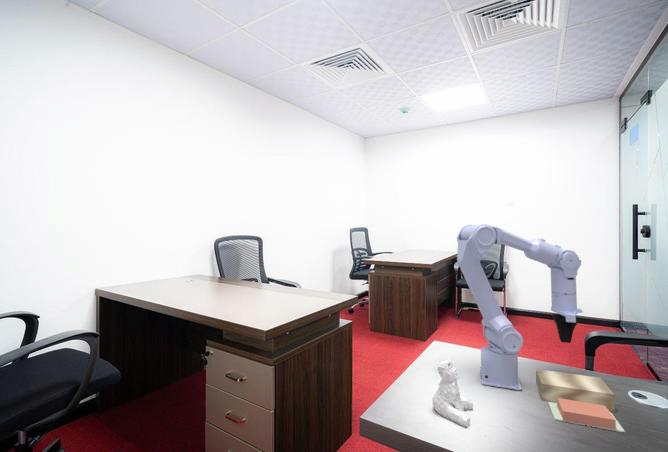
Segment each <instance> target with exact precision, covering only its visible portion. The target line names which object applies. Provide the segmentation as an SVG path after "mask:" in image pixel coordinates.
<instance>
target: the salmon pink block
mask: <svg viewBox="0 0 668 452" xmlns="http://www.w3.org/2000/svg"><path fill="white" fill-rule="evenodd" d="M557 407H558V409H559V412H560V414H561V416H562V418H563V420H564V421H570V422H575V423H581V424H586V425H592V426H597V427H603V428H608V429H614V430H616V420H617V419H616V420H615V419H614V417H615V416H614V415H613V416H614V417H613V416H612V414H613V413H612V412H611V411H609V410H608V409H607V408H606V406H605V405H599V404H593V403H586V402H580V401H574V400H568V399H561V398H557ZM610 412H611V413H612V414H611V413H610Z"/></svg>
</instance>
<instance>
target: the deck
mask: <svg viewBox="0 0 668 452" xmlns="http://www.w3.org/2000/svg"><path fill="white" fill-rule="evenodd" d="M535 385H536V388H537V390H538V392H539V396H540V398H541V400H542V401H545V402H552V403H557V398H561V399H568V400H574V401H580V402H586V403H593V404H599V405H605V406H606V408H607V409H608V410H609V412H611V413H615V412H616V408H615V407H616V405H615V393H614V392H613V391H612V390H611V389H610V387H609V386H608V385H607V384H606V383H605V382H604V380H603V379H602V378H601V377H599V376H598V377H597V376H589V375H584V374H575V373H570V372H569V373H568V372H560V371H554V370H553V371H552V370H545V369H538V368H536V369H535Z"/></svg>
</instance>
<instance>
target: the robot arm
mask: <svg viewBox="0 0 668 452" xmlns="http://www.w3.org/2000/svg"><path fill="white" fill-rule="evenodd" d="M455 239H456V241H457V251H456V252H457V254H456V255H457V256H456V261H457V264H458V266H459V268H460V271H461V272H462V273H461V274H462V275H463V277H464V279H465V281H466V284H467V286H468V288H469V290H470V293H471V295H472V296H473V299H474V302H475V303H476V306H477V307H478V309H479V312H480V314H481V316H482V320H481V324H482V330H483V331H482V332H483V337H484V338H485V340H486V341H487V346H481V347H480V366H479V375H481V377H480V379H481V384H482V385H484V386H491V387H496V388H497V387H498V388H504V389H508V390H509V389H510V390H516V391H522V390H523V388H522V384H521V380H520V378H519V365H518V364H519V361H518V360H519V359H518V357H519V356H518V355H519V352H520V351H521V349H522V347H523V345H524V338H523V336H522V334H521V333H520V332H519V331H517V330H516V328H515V326H514V325H513V323H512V322H511V321H510V320H509V319H508V317H506V316H505V315H504V312H503V309H502V308H501V306H500V303H499V302H498V299H497V297H496V295H495V292H494V290H493V289H492V286H491V284H490V282H489V280H488V278H487V275H486V273H485V271H484V269H483V267H482V264H481V261H482V259H483V256H484V255H485V254H486V253H487V252H488V251H489V250H490V249H491V248H492V246H494V245H500V244H501V245H504V246H507V247H510V248H513V249H515V250H519V251H521V252H524V256H525V257H526V258H527V259H530V260H533V261H534V262H535V261H536V262H538V263H540V264H543V265H545V266H546V267H548V268H549V269H550V290H551V291H550V292H551V295H550V296H551V306H550V311H551V312H553V313H551V317H552V318H553V321H554V323H555V326H556V329H557V334H558V337H559V340H560V342H561V343H566V344H567V343H568V344H570V343H571V342H572V339H573V334H574V330H575V327H576V326H577V324H578V323H579V318H577V315H578V314H579V313H580V314H581V313H583V309H582V308H578V303H577V301H578V300H577V276H578V270H579V269H580V267H581V265H582V260H581V259H580V256H579V255H578V254H577V253H576V252H575V251H573V250H571V249H563V248H561V247H562V246H561V245H559V244H554V245H553V244H550V243H549V242H546V239H544V238H540V237H539V238H532V239H531V240H528V239H525V238H523V237H521V236H519V235H517V234H514V233H512V232H509V231H506V230H505V229H502V228H499V227H497V226H492V225H489V224H486V223H484V224H476V225H475V224H466V225H464V226H463V227H462V228H461V229H460V230H459V233H458V234H457V236H456V238H455Z"/></svg>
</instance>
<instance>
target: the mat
mask: <svg viewBox="0 0 668 452" xmlns="http://www.w3.org/2000/svg"><path fill="white" fill-rule="evenodd" d="M547 404H548V406H549V409H550V411H551V413H552V416H553V419H554V420H555V421H559V422H562V423H563V422H565V423H568V424H575V425H581V426H585V425H586V424H581V423H575V422H570V421H564V420H563V418H562V416H561V414H560V412H559V409H558V407H557V403H556V402H550V401H547ZM609 412H610V413H611V414H612V416H613V417H614V419H615V420H616V430H614V429H608V428H603V427H597V426H592V425H587V427H591V426H592V428H596V427H597V429H601V430H602V429H603V430H608V431H614V432H619V433H623V432H624V434H625V433H626V431H625V429H624V428H623V426H622V425H621V424H620V422H619V421H618V420H617V419H616V417H615V416H614V414H613V412H611V411H609Z"/></svg>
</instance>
